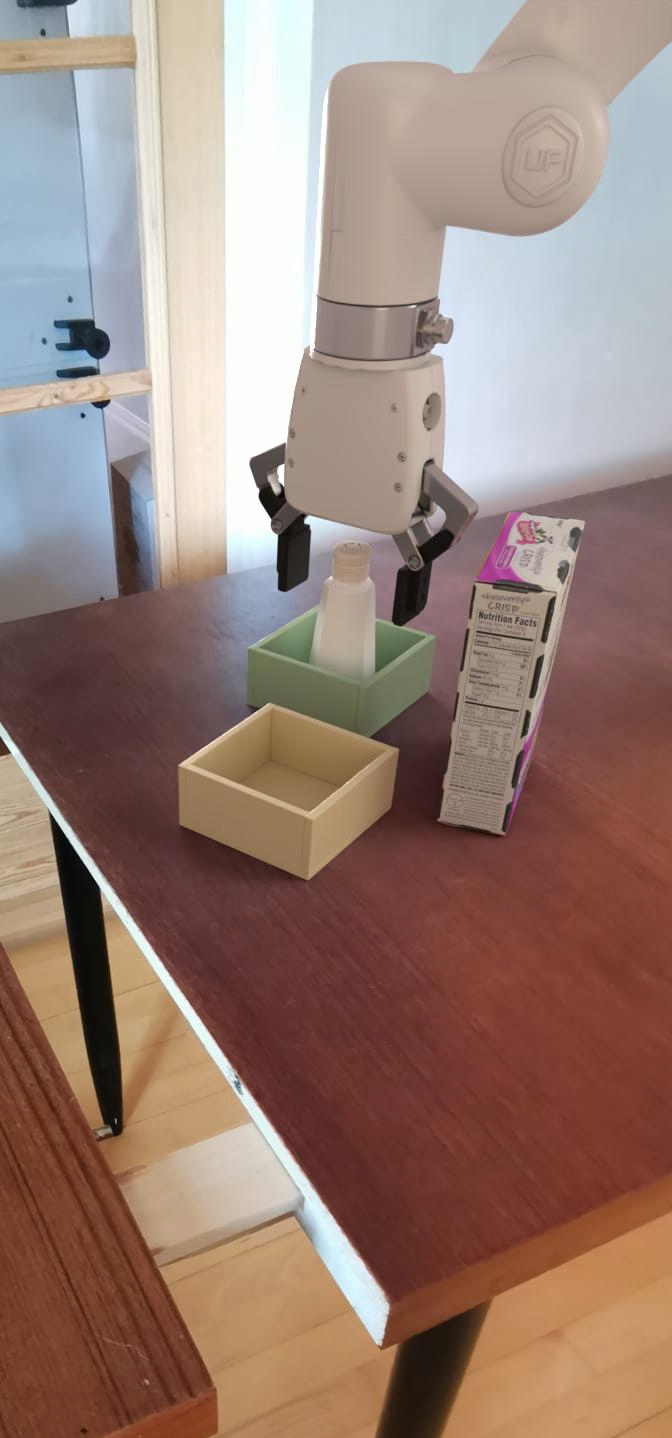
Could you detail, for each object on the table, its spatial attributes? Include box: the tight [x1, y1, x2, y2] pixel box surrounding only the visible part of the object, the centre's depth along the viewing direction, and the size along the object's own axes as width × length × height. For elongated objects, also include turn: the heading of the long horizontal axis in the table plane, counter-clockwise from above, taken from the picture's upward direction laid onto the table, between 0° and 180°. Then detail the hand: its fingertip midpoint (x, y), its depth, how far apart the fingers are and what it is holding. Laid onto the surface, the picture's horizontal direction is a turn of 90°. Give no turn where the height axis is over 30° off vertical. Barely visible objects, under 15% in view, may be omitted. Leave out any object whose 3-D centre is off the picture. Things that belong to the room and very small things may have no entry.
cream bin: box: [177, 703, 400, 881], centre depth 71 cm, size 10×10×4 cm
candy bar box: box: [436, 511, 586, 837], centre depth 69 cm, size 11×5×16 cm, turn 158°
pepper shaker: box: [309, 539, 376, 683], centre depth 80 cm, size 5×5×11 cm
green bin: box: [246, 604, 437, 738], centre depth 83 cm, size 10×10×4 cm
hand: (348, 602), depth 79 cm, fingers open, 9 cm apart
